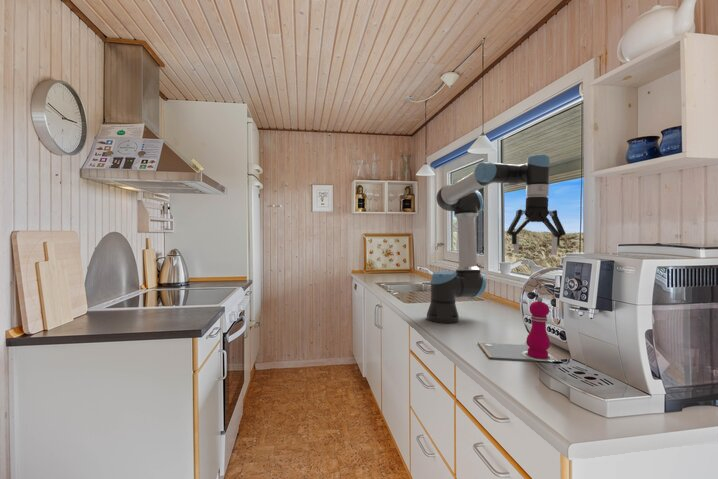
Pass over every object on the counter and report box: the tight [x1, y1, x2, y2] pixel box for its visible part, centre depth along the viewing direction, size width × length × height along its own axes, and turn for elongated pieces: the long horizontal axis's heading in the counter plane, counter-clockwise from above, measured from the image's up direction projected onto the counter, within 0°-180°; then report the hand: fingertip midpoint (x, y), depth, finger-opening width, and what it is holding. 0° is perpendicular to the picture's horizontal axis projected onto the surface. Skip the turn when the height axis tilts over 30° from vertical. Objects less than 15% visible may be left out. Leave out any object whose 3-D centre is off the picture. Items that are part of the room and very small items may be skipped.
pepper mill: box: [525, 296, 551, 359], centre depth 122 cm, size 7×7×20 cm
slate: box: [477, 342, 558, 362], centre depth 126 cm, size 17×22×1 cm
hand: (535, 254), depth 134 cm, fingers open, 13 cm apart
